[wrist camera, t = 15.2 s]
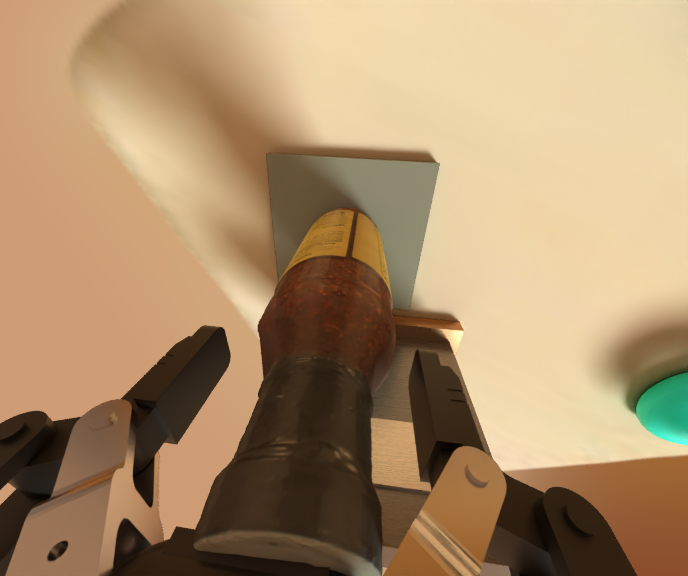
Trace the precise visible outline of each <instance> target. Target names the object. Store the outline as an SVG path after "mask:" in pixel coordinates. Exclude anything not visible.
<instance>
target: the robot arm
mask: <svg viewBox="0 0 688 576" xmlns="http://www.w3.org/2000/svg"><path fill="white" fill-rule="evenodd" d="M230 357H231V356H230V350H229V346H228V342H227V338H226V334H225V330H224V329H223V328H222V327H215V326H206V325H204V326H202V327H200V329H198V330H197V331H196V333H195V334H194V335H193V336H192V337H191V336H188V337H187V338H185V339H183V340H182V341H180V342H178V343H177V344H175V345H174V346H173V347H172V348H171V349H170V350H169V351H168V352H167V353H166V356H163V357H162V358H161V359H160V360H159V361H158V362H157V365H154V367H152V368H151V369H150V370H149V371H148V372H147V373H146V375H144V377H142V378H141V379H140V381H138V382H137V383H136V384H135V385H134V386H133V387H132V388H131V390H129V391H128V393H126V394H125V395H124V396H123V397H122V398H121V399H116V400H111V401H107V402H104V403H102V404H100V405H98V406H96V407H94V408H92V409H91V410H89V411H88V412H87V413H85V414H84V415H83V416H82V417H77V418H71V419H65V420H58V421H52V420H51V419H50V418H49V417H48V416H47V414H46V413H44V412H42V411H31V412H27V413H23V414H20V415H17V416H14V417H12V418H10V419H8V420H6V421H4V422H2V423H1V424H0V490H1V489H2V488H3V487H4V486H5V485H6V484H7V483H10V484H11V485H12V486H13V487H15V488H16V490H15V491H14V492H13V493H12V494H11V495H10V496H9V497H8V498H7V499H6V500H5V501H4V502H3V503H2V504H1V505H0V576H346V575H345V574H343V573H340V572H337V571H333V570H329V567H315V566H312V565H310V564H308V563H304V562H292V561H285V560H277V559H267V558H259V557H251V556H244V555H239V554H224V553H215V552H209V551H198V550H196V549H195V548H194V545H193V542H194V534H195V532H196V530H194V529H188V528H182V527H176V528H175V530H174V532H173V534H172V536H171V538H170V539H168V540H165V541H164V533H163V527H162V523H161V520H160V516H159V463H160V461H159V460H160V455H159V452H158V450H159V449H160V447H161V446H162V444H163V443H171V444H178V442H179V441H180V439H181V438H182V436H183V434H184V433H185V432H186V430H187V429H188V427H189V425H190V424H191V422H192V421H193V419H194V418H195V416H196V415H197V413H198V412H199V410H200V409H201V407H202V406H203V404H204V403H205V401H206V400H207V398H208V397H209V395H210V394H211V392H212V391H213V389H214V388H215V386H216V385H217V383H218V382H219V380H220V379H221V377H222V376H223V374H224V372H225V371H226V370H227V368H228V366H229V363H230ZM409 397H410V405H411V413H412V421H413V429H414V437H415V444H416V452H417V460H418V468H419V476H420V482H427V483H430V486H431V493H430V495H429V497H428V499H427V500H426V502H425V504H424V506H423V508H422V509H421V511H420V513H419V514H418V516H417V517H416V518H415V520H414V522H413V523H412V525H411V527H410V529H409V530H408V532H407V534H406V536H405V538H404V539H403V541H402V543H401V545H400V546H399V548H398V550H397V552H396V554H395V555H394V557H393V559H392V561H391V563H390V564H389V566H388V568H387V570H386V571H385V573H384V575H383V576H480V571H481V567H482V564H483V561H484V558H485V555H486V554H488V555H490V556H491V557H493V558H495V559H497V560H498V561H500V562H502V563H503V564H505V565H507V566H509V570H510V574H511V576H637V574H636V573H635V571H634V569H633V567H632V565H631V564H630V562H629V560H628V559H627V556H626V555H625V553H624V551H623V549H622V547H621V546H620V544H619V542H618V540H617V539H616V537H615V535H614V533H613V532H612V530H611V528H610V526H609V525H608V523H607V521H606V520H605V519H604V517H603V516H602V515H601V514H600V513H599V511H598V510H597V509H596V508H595V507H594V506H593V505H591V503H589V502H588V501H587V500H586V499H584V498H583V497H581V496H580V495H578V494H577V493H575V492H573V491H571V490H569V489H566V488H562V487H552V488H549V489H548V490H547V491H546V492H545V493H543V492H541V491H539V490H537V489H535V488H533V487H530V486H528V485H526V484H524V483H522V482H520V481H517V480H515V479H514V478H512V477H510V476H508V475H507V474H505V473H504V472H503V471H501V469H500V468H499V466H498V465H497V463H496V462H495V461H494V460H493V459H492V458H491V457H490V456H489V455H487V454H486V452H485V450H484V448H483V445H482V443H481V440H480V437H479V434H478V431H477V428H476V425H475V422H474V419H473V417H472V414H471V411H470V408H469V405H468V404H467V399H466V396H465V393H463V388H462V385H461V382H460V379H459V377H458V376H457V375H456V374H455V372H454V371H453V370H452V369H451V367H450V366H441V364H440V361H439V357H438V354H437V352H436V351H429V350H419V349H417V350H416V351H415V355H414V359H413V363H412V367H411V371H410V375H409Z"/></svg>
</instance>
